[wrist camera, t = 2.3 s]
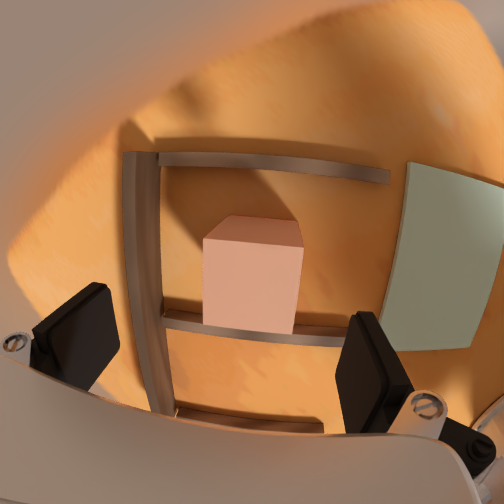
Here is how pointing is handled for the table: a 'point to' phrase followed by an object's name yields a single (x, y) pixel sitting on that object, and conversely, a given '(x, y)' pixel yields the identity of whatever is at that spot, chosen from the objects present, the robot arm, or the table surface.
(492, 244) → the mat
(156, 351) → the lane rack
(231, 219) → the block
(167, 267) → the table surface
